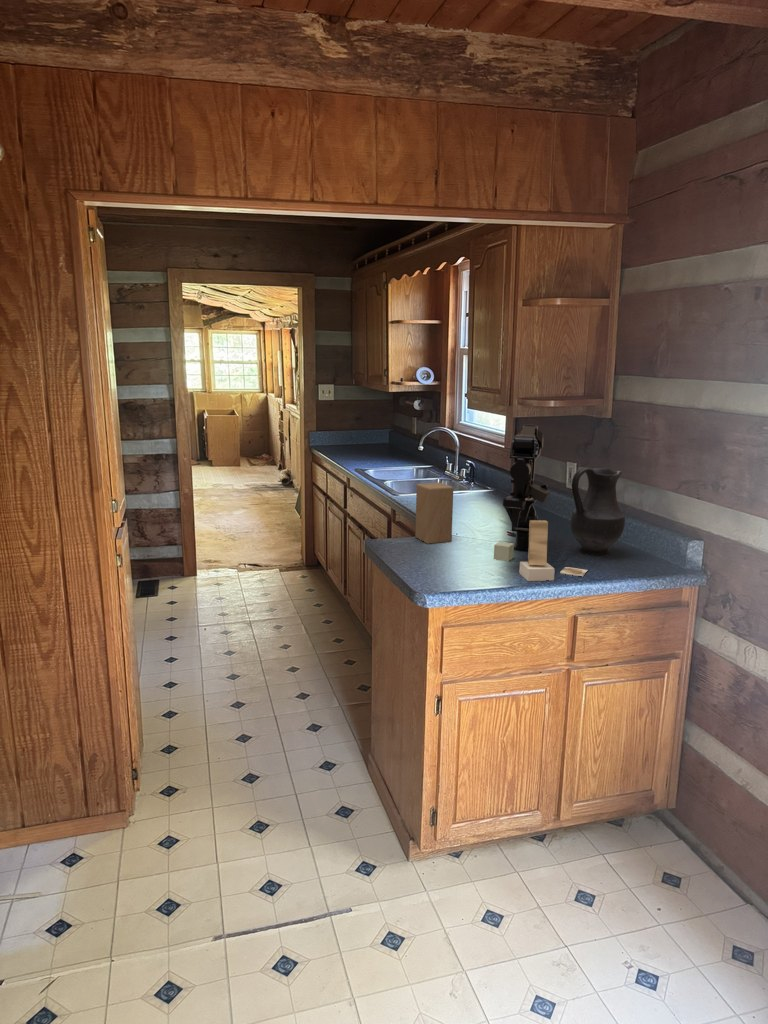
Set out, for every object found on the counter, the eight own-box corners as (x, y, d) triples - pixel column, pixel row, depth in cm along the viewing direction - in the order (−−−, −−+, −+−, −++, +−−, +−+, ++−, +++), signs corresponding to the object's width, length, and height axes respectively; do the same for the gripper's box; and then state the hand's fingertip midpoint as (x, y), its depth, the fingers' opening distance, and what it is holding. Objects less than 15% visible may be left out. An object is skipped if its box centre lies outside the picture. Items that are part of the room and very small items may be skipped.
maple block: (527, 562, 219) (529, 520, 218) (544, 563, 218) (546, 520, 217) (529, 564, 214) (530, 521, 213) (546, 565, 213) (548, 522, 212)
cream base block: (519, 574, 220) (519, 561, 220) (544, 573, 222) (544, 561, 221) (528, 582, 213) (528, 569, 212) (553, 581, 214) (554, 568, 213)
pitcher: (632, 556, 241) (640, 467, 235) (587, 564, 231) (594, 472, 225) (594, 544, 256) (600, 461, 249) (550, 551, 246) (555, 464, 239)
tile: (565, 567, 226) (565, 566, 226) (587, 571, 223) (587, 569, 223) (559, 573, 220) (559, 571, 220) (582, 577, 217) (582, 575, 217)
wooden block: (414, 537, 261) (416, 483, 257) (439, 535, 265) (440, 482, 261) (427, 544, 253) (428, 488, 248) (452, 541, 256) (454, 486, 252)
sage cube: (498, 556, 239) (499, 541, 238) (513, 558, 237) (513, 543, 236) (493, 559, 235) (494, 544, 234) (508, 561, 233) (509, 546, 232)
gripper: (539, 482, 212) (536, 534, 215) (555, 474, 228) (552, 522, 231) (503, 479, 217) (500, 529, 220) (521, 471, 233) (518, 518, 236)
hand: (519, 524), depth 227 cm, fingers open, 9 cm apart
